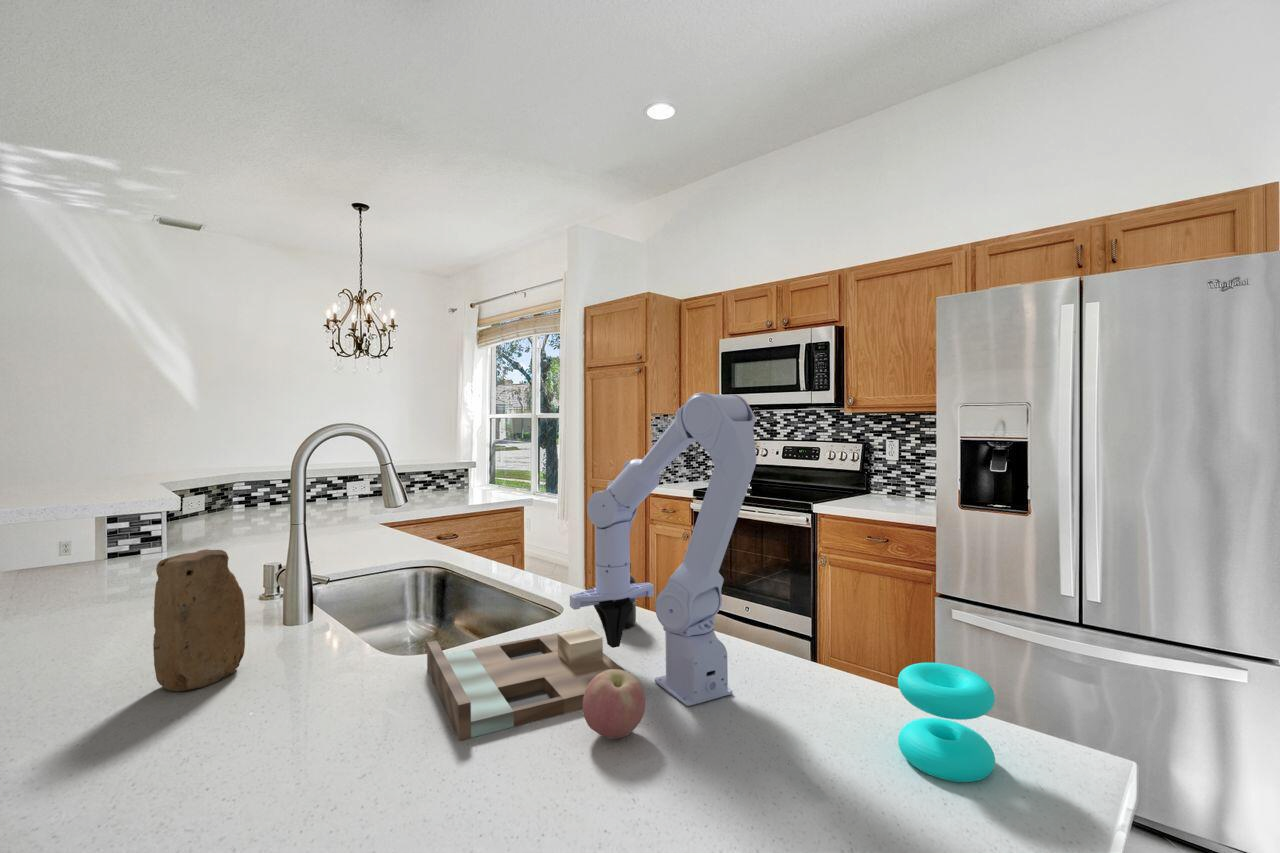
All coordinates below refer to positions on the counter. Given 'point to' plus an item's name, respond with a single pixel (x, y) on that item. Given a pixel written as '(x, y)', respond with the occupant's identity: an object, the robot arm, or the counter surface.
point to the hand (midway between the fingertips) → (613, 645)
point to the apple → (614, 703)
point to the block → (197, 620)
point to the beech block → (580, 646)
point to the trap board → (508, 683)
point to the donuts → (946, 722)
